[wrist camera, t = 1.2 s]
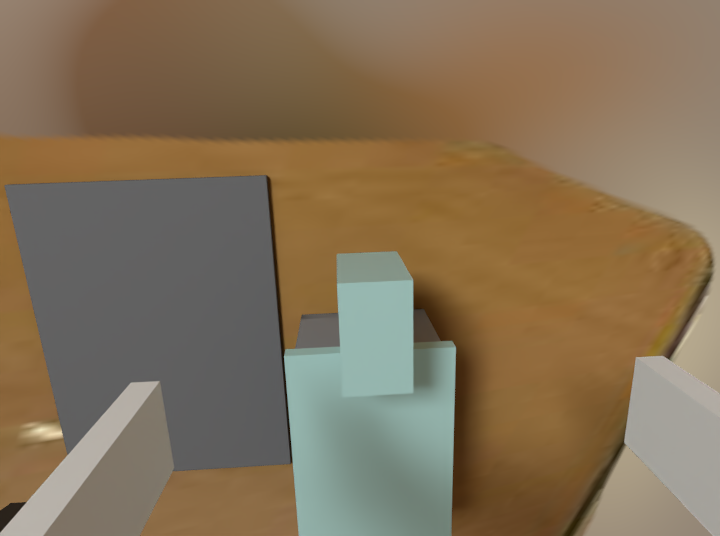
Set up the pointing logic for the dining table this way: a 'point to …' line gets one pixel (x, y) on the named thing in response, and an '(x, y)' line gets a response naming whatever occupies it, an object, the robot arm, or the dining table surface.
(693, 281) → the dining table surface
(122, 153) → the dining table surface
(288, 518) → the dining table surface
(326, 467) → the block with upright tab
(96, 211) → the mat
